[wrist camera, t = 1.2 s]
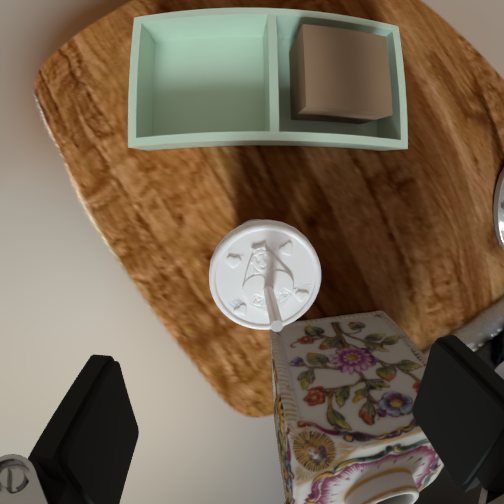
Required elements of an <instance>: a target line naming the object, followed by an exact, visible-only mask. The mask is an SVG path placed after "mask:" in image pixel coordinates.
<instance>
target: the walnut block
mask: <svg viewBox="0 0 504 504" xmlns="http://www.w3.org/2000/svg"><path fill="white" fill-rule="evenodd" d="M289 71H290V107H291V120H307V121H325V122H339V123H351V124H364V123H367V122H370V121H374V120H377V119H380V118H384V117H387V116H391V115H393V114H392V95H391V81H390V69H389V59H388V50H387V41H386V37H385V36H380V35H376V34H370V33H365V32H360V31H354V30H348V29H341V28H334V27H326V26H317V25H307V24H302V26H301V28H300V30H299V32H298V34H297V36H296V39H295V41H294V43H293V45H292V47H291V49H290V51H289Z"/></svg>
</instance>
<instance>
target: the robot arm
mask: <svg viewBox="0 0 504 504" xmlns="http://www.w3.org/2000/svg"><path fill="white" fill-rule="evenodd" d="M493 217H494V226H495V231H496V235H497V238H498V241H499V243H500V245H501V247H502V248H503V250H504V167H503V169H502V171H501V173H500V175H499V178H498V182H497V185H496V190H495V195H494V205H493ZM412 414H413V417H414V418H415V420H416V421H417V423H418V425H419V426H420V428H421V429H422V431H423V432H424V434H425V435H426V437H427V439H428V440H429V442H430V443H431V445H432V447H433V448H434V450H435V451H436V453H437V455H438V456H439V458H440V459H441V461H442V463H443V464H444V466H445V468H446V469H447V471H448V472H449V474H450V476H451V477H452V479H453V481H454V482H455V484H456V485H458V486H461V488H462V490H463V491H464V492H466V491H468V490H470V489H472V488H474V487H476V486H477V485H478V484H479V483H481V484H482V491H481V496H480V500H479V504H504V380H503V379H502V378H501V377H500V376H499V375H498V374H497V373H496V372H495V371H494V370H493V369H492V368H491V367H490V366H488V365H487V364H486V363H485V362H484V361H483V360H482V359H481V358H480V357H479V356H477V355H476V354H475V353H474V352H473V351H472V350H471V349H470V348H469V347H467V346H466V345H465V344H464V343H463V342H462V341H461V340H460V339H458V338H457V337H456V336H454V335H450V336H445V337H440V338H438V339H437V340H436V341H435V343H434V344H433V345H432V347H431V350H430V354H429V357H428V361H427V364H426V368H425V371H424V374H423V377H422V380H421V384H420V387H419V390H418V393H417V395H416V398H415V401H414V404H413V407H412ZM138 433H139V431H138V425H137V422H136V419H135V416H134V413H133V410H132V406H131V403H130V400H129V397H128V393H127V389H126V387H125V382H124V379H123V375H122V371H121V367H120V364H119V362H117V361H114V359H113V358H112V357H111V356H103V355H92V356H91V357H90V359H89V360H88V361H87V363H86V364H85V366H84V367H83V369H82V370H81V372H80V373H79V375H78V377H77V378H76V380H75V381H74V383H73V384H72V386H71V387H70V389H69V391H68V392H67V394H66V395H65V397H64V398H63V400H62V402H61V403H60V405H59V406H58V408H57V410H56V411H55V413H54V414H53V416H52V418H51V419H50V421H49V423H48V424H47V426H46V428H45V429H44V431H43V433H42V435H41V436H40V438H39V440H38V441H37V443H36V445H35V447H34V448H33V450H32V452H31V454H30V456H29V457H28V459H27V458H25V457H23V456H21V455H15V454H11V455H4V456H2V457H0V504H119V503H120V499H121V495H122V492H123V488H124V484H125V481H126V477H127V473H128V470H129V467H130V463H131V460H132V456H133V453H134V449H135V446H136V443H137V439H138Z"/></svg>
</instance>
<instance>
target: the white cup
mask: <svg viewBox="0 0 504 504" xmlns="http://www.w3.org/2000/svg"><path fill="white" fill-rule="evenodd" d="M320 283H321V266H320V262H319V259H318V256H317V254H316V252H315V250H314V248H313V246H312V245H311V243H310V242H309V240H308V239H307V237H305V236H304V235H303V234H302V233H301V232H300V231H298V230H297V229H296V228H294V227H292V226H290V225H288V224H285V223H283V222H279V221H273V220H262V219H252V220H248V221H246V222H245V223H243V224H242V225H240V226H238V227H237V228H235V229H234V230H232V231H231V232H230V233H228V234H227V235H226V236H225V237H224V238H223V239H222V241H221V242H220V243H219V244H218V245H217V247H216V249H215V251H214V254H213V256H212V258H211V262H210V270H209V284H210V290H211V293H212V296H213V298H214V301H215V302H216V304H217V306H218V307H219V308H220V310H221V311H222V312H223V313H224V314H225V315H226V316H227V317H228V318H230V319H231V320H233V321H234V322H236V323H238V324H240V325H242V326H245V327H248V328H253V329H272V330H273V331H275V332H278V331H281V330H282V328H283V326H285V325H287V324H290V323H292V322H293V321H295V320H297V319H298V318H299V317H301V316H302V315H303V314H304V313H305V312H306V311H307V310H308V309H309V308H310V306H311V305H312V303H313V302H314V300H315V298H316V296H317V294H318V291H319V288H320Z"/></svg>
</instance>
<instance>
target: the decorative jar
mask: <svg viewBox="0 0 504 504" xmlns="http://www.w3.org/2000/svg"><path fill="white" fill-rule="evenodd" d="M270 343H271V363H272V387H273V405H274V407H273V411H274V420H275V429H276V436H277V437H276V438H277V444H278V452H279V460H280V466H281V473H282V478H283V485H284V492H285V498H286V502H285V503H284V504H413V503H414V502H415V501H416V500H417V499H418V497H419V492H420V491H421V490H422V489H423V488H425V487H426V486H428V485H429V484H430V483H431V482H433V481H434V480H435V478H436V477H437V475H438V474H439V472H440V471H441V469H442V468H443V466H444V464H443V463H442V461H441V459H440V458H439V456H438V455H437V453H436V451H435V450H434V448H433V447H432V445H431V443H430V442H429V440H428V439H427V437H426V435H425V434H424V432H423V431H422V429H421V428H420V426H419V425H418V423H417V421H416V420H415V418H414V417H413V414H412V407H413V404H414V401H415V398H416V395H417V393H418V390H419V387H420V384H421V380H422V377H423V374H424V371H425V368H426V364H427V361H428V359H427V357H425V355H424V354H423V353H422V352H421V351H420V350H419V348H418V347H417V346H416V345H415V344H414V343H413V341H412V340H411V339H410V338H409V337H408V336H407V335H406V334H405V332H404V331H403V330H402V329H401V328H400V327H399V326H398V325H397V324H396V323H395V322H394V321H393V320H392V319H391V318H390V317H389V316H388V315H387V314H386V313H385V312H384V311H374V312H366V313H357V314H350V315H342V316H334V317H326V318H319V319H311V320H304V321H293V322H292V323H290V324H287V325H285V326H283V328H282V330H281V331H278V332H275V331H273V330H272V329H270Z"/></svg>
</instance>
